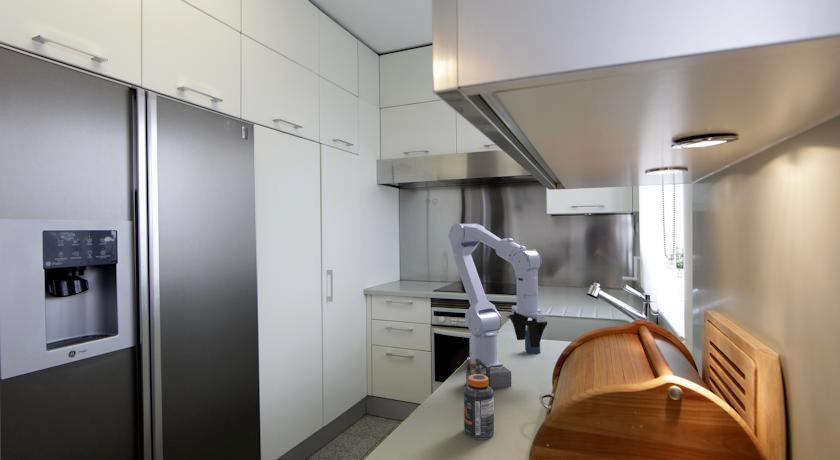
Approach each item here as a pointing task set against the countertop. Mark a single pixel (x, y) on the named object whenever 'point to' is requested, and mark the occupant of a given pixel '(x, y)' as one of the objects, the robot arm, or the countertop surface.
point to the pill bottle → (478, 408)
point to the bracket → (479, 362)
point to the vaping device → (528, 345)
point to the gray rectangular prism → (495, 377)
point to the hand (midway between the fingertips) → (527, 343)
